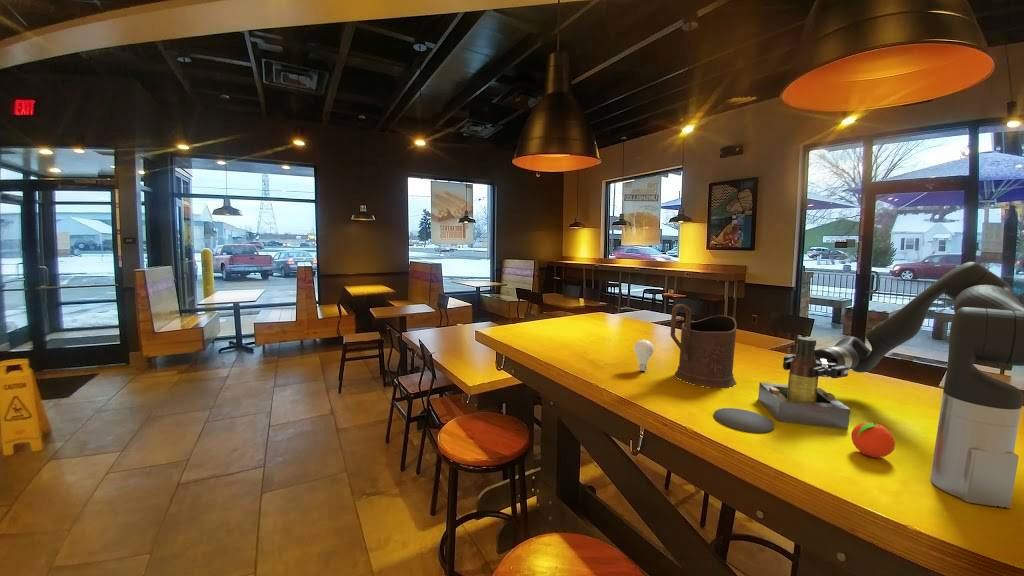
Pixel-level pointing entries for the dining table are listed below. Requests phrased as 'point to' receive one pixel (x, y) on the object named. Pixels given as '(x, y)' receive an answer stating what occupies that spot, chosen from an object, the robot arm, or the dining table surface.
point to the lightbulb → (643, 353)
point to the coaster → (744, 420)
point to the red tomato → (873, 439)
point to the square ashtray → (804, 407)
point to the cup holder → (706, 350)
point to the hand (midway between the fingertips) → (799, 369)
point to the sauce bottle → (803, 372)
